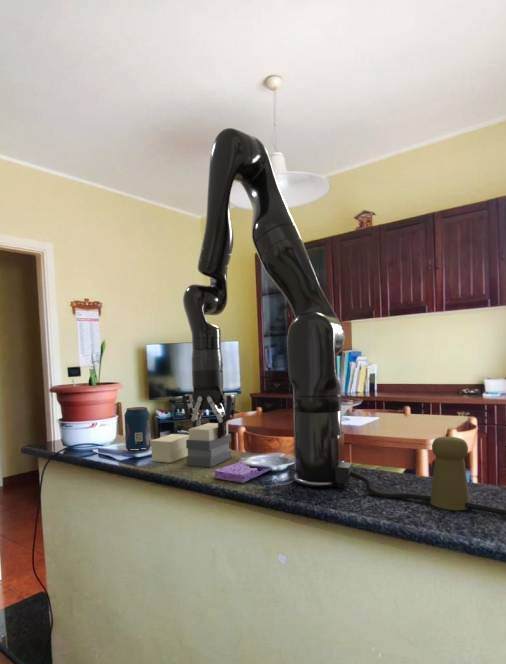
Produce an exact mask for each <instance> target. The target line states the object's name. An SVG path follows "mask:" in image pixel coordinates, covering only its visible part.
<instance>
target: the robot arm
mask: <svg viewBox="0 0 506 664" xmlns="http://www.w3.org/2000/svg"><path fill="white" fill-rule="evenodd" d="M234 182H237V183H239V184H240V185H241V186H242V187H243V189H244V191H245V193H246V195H247V197H248V199H249V202H250V205H251V208H252V217H251V219H252V220H251V233H250V234H251V241H252V244H253V246H254V249H255V251H256V254H257V256H258V258H259V261H260V263H261V265H262V267H263V268H264V271H265V272H266V274H267V275H268V277H269V278H270V280H271V281H272V282H273V283H274V285H275V286H276V287H277V289H278V290H279V291H280V293H281V294H282V295H283V296H284V298H285V300H286V301H287V302H288V305H289V306H290V308H291V311H292V313H293V316H294V318H293V321H292V322H291V324H290V325H289V327H288V332H287V339H286V342H287V343H286V346H287V347H286V349H287V364H288V377H289V378H288V379H289V381H290V384H291V386H292V394H293V395H292V404H293V405H292V406H293V407H292V409H293V445H294V446H293V449H294V450H293V451H294V476H293V477H294V482H295V483H296V484H298V485H301V486H304V487H310V488H340V487H341V486H342V484H345V485H349V484H350V483H351V481H352V480H353V478H355V479H357V480H359V481H362V482H363V483H364V484H365V489H366V490H367V492H368V493H369V494H371V495H373V496H375V497H376V496H377V497H380V498H388V499H411V500H417V501H418V500H419V501H424V502H429V501H431V496H430V495H427V494H421V493H413V492H384V491H380V490H377V489H374V488H373V486H372V483H371V481H370V480H369V479H368V477H366V476H364V475H363V474H360V473H357V472H355V471H354V466H353V465H354V464H353V462H348V461H347V462H346V461H345V459H346V458H345V455H346V453H345V432H343V431H342V430H343V429H342V428H343V427H342V425H343V424H342V382H341V380H340V379H339V377H338V375H337V371H336V360H335V357H336V356H337V355H338V354H339V353H340V352H341V351H342V350H343V347H344V344H345V330H344V327H343V325H342V322H341V321H340V319H339V318H338V316H337V314H336V313H335V311H334V309H333V307H332V306H331V304H330V302H329V301H328V299H327V297H326V296H325V293H324V291H323V289H322V287H321V285H320V282H319V280H318V277H317V274H316V271H315V269H314V266H313V265H312V261H311V259H310V257H309V254H308V252H307V249H306V247H305V244H304V241H303V239H302V236H301V235H300V232H299V230H298V228H297V225H296V223H295V222H294V219H293V217H292V215H291V213H290V211H289V208H288V205H287V203H286V201H285V199H284V197H283V195H282V193H281V190H280V188H279V185H278V182H277V179H276V176H275V172H274V170H273V165H272V162H271V159H270V156H269V153H268V151H267V149H266V146H265V144H263V142H262V141H261V140H260V139H259V138H258V137H255V136H254V135H251V134H248V133H246V132H244V131H241V130H240V129H239V130H238V129H236V128H233V127H232V128H231V127H228V128H224V129H222V130H221V131H220V132H219V133H218V134H217V135H216V136H215V139H214V141H213V144H212V146H211V151H210V156H209V168H208V182H207V194H206V195H207V196H206V197H207V199H206V213H205V214H206V215H205V217H206V218H205V225H204V232H203V236H202V237H203V238H202V241H201V247H200V251H199V256H198V261H197V271H198V272H199V274H201V275H203V276H204V277H208V278H209V285H208V284H207V285H206V284H198V283H197V284H195V283H193V284H190V285H188V286H187V287H186V289H185V290H184V293H183V297H182V303H183V304H182V305H183V309H184V312H185V316H186V319H187V322H188V325H189V329H190V332H191V350H192V351H191V379H192V380H191V383H192V388H193V391H192V394H190V393H188V394H183V395H182V396H181V400H182V405H183V412H184V413H183V414H184V417H185V419H187V420H190V421H191V422H192V428H194V427H197V426H200V425H202V421H201V418H202V416H203V413H204V412H205V411H207V410H208V411H212V413H213V414H214V415H215V417H216V419H217V423H218V438H223V437H225V435H226V433H227V431H226V424H227V422H229V421H230V420H233V419H234V418H235V409H236V408H235V407H236V400H237V398H236V395H235V394H227V393H226V394H225V392H224V363H223V354H222V353H223V352H222V335H221V334H222V333H221V328H220V327H219V326H218V325H216V324H214V323H213V324H212V323H210V322H209V321H208V320H207V317H206V316H218V315H220V314H222V313H223V311H224V310H225V308H226V306H227V304H228V268H229V265H230V260H231V255H232V252H233V247H234V228H233V223H232V218H231V207H230V201H231V194H232V193H231V192H232V188H233V185H234ZM223 401H224V403H225V408H224V406H223V404H222V403H223ZM193 402H195V406H194V404H193ZM465 507H466V508H469V509H470V510H477V511H481V512H486V513H491V514H496V515H497V514H498V515H502V516H506V508H502V507H496V506H491V505H486V504H480V503H476V502H475V503H474V502H471V501H470V502H466V503H465Z"/></svg>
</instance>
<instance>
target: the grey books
mask: <svg viewBox="0 0 506 664" xmlns="http://www.w3.org/2000/svg"><path fill="white" fill-rule="evenodd" d="M230 443H232V434H231V433H228V434H227V435H225V437H223V438H216V439H214V440H211V441H200V440H189V439H188V440H186V448H188V456H186V465H187V466H192V467H193V466H194V467H202V468H203V467H204V468H212V467H214V466H217V465H218V464H221V463H222V462H225V461H226V460H228V459H230V458H232V449H231V448H230Z"/></svg>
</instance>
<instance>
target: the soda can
mask: <svg viewBox="0 0 506 664" xmlns="http://www.w3.org/2000/svg"><path fill="white" fill-rule="evenodd" d="M123 415H124V416H123V417H124V436H125V437H124V438H125V449H126V450H127V452H129V453H130V454H131V453H132V454H139V453H140V454H141V453H146V452H149V450H150V449H151V441H152V439H151V436H152V435H151V414H150V411H149V410H148V407H146V406H135V407H126V411H125V412H124V414H123ZM141 448H146V449H141ZM130 449H139V450H130Z"/></svg>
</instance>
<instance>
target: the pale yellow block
mask: <svg viewBox="0 0 506 664" xmlns="http://www.w3.org/2000/svg"><path fill="white" fill-rule="evenodd" d="M218 423H219V422H217V423H216V422H207V423H204V424H201V425H200V426H197V427H194V428H193V427H191V428H188V435H189V440H200V441H211V440H214V439H216V438H218ZM226 431H227V433H226V435H227V434H229V423H226Z"/></svg>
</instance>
